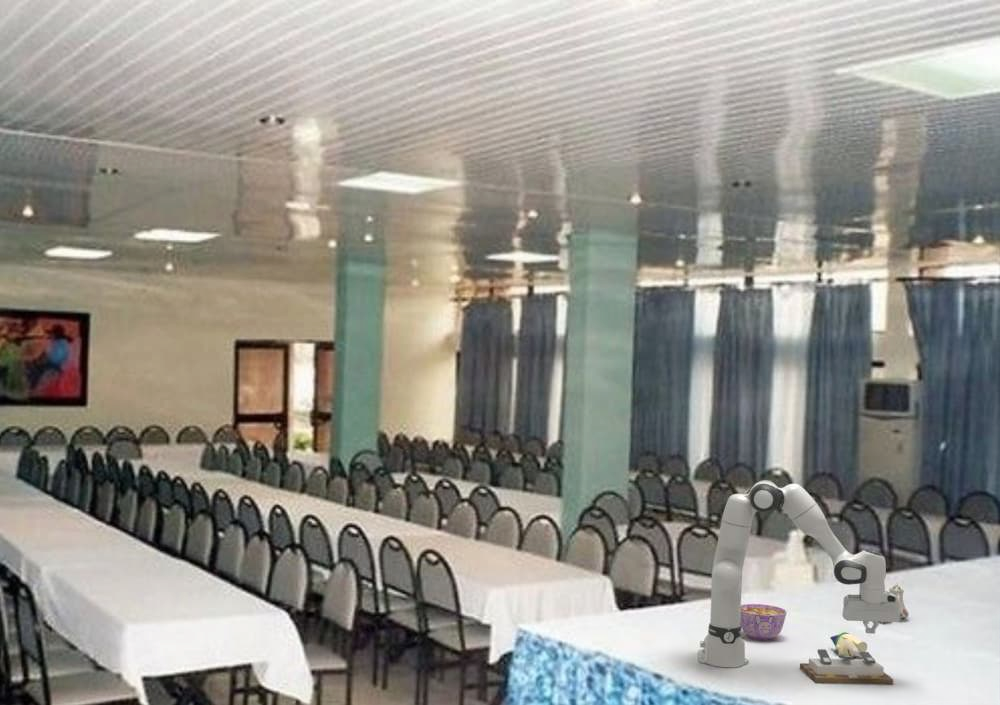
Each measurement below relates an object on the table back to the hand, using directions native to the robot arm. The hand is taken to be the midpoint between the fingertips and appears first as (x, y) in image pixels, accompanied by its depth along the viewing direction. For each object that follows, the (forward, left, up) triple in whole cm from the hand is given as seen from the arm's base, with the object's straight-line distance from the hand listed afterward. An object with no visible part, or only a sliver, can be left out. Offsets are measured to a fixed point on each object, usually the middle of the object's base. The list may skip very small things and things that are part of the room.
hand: (870, 633), depth 405 cm
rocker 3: (-2, 0, -10) cm, 10 cm away
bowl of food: (-55, -24, -17) cm, 62 cm away
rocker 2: (-2, -8, -10) cm, 12 cm away
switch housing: (-2, -8, -14) cm, 17 cm away
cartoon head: (-31, +3, -17) cm, 35 cm away
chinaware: (-92, +45, -17) cm, 104 cm away
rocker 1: (-2, -16, -10) cm, 19 cm away
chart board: (-2, -8, -17) cm, 18 cm away
